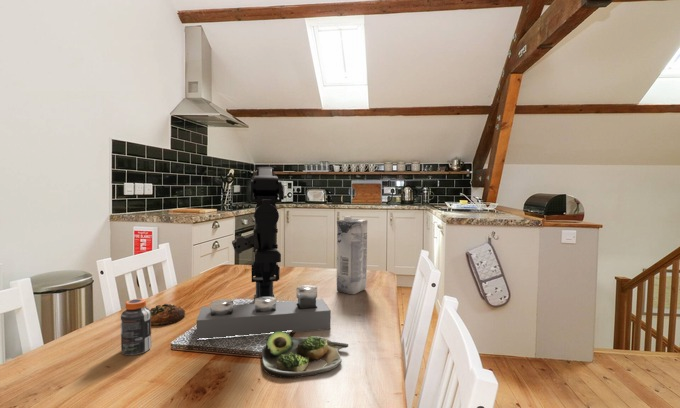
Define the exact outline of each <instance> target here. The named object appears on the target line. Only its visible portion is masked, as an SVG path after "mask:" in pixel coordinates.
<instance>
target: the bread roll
mask: <svg viewBox="0 0 680 408" xmlns="http://www.w3.org/2000/svg"><path fill="white" fill-rule="evenodd" d="M150 311H151V326H162V325H168V324H174V323H176V322H179V321H181V320H183V319H184V318H185V316H186V311H185V309H183V308H182V307H181V306H179V305H178V306H176V305H175V304H173V305H172V304H170V303H164V304H160V305H159V304H158V305H156V306H154V307H150Z"/></svg>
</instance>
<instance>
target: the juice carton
mask: <svg viewBox="0 0 680 408" xmlns="http://www.w3.org/2000/svg"><path fill="white" fill-rule="evenodd" d="M336 235H337V236H336V291H337V292H339V293H343V294H344V293H345V294H349V295H356V294H358V293H359V292H362V291H364V290H366V288H367V287H366V286H367V273H368V272H367V269H368V268H367V263H368V262H367V261H368V259H367V257H368V256H367V255H368V219H360V218H352V215H346V216H343V220H342V219H341V220H337V221H336Z"/></svg>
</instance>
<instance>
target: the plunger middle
mask: <svg viewBox="0 0 680 408" xmlns="http://www.w3.org/2000/svg"><path fill="white" fill-rule="evenodd" d="M274 297H275V296H274ZM274 297H259V298H257V299H254V304H255V311H257V313H258V312H271V311H274V310H276V302H277V298H276V297H275V298H274Z"/></svg>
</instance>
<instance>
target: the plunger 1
mask: <svg viewBox="0 0 680 408" xmlns="http://www.w3.org/2000/svg"><path fill="white" fill-rule="evenodd" d="M209 305H210V306H209V307H210V313H211V314H212V315H213V316H222V315H231V313H232V312H233V305H234V300H232V299H226V298H222V299H221V298H220V299H215V300H213V301H211V302H210V303H209Z"/></svg>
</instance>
